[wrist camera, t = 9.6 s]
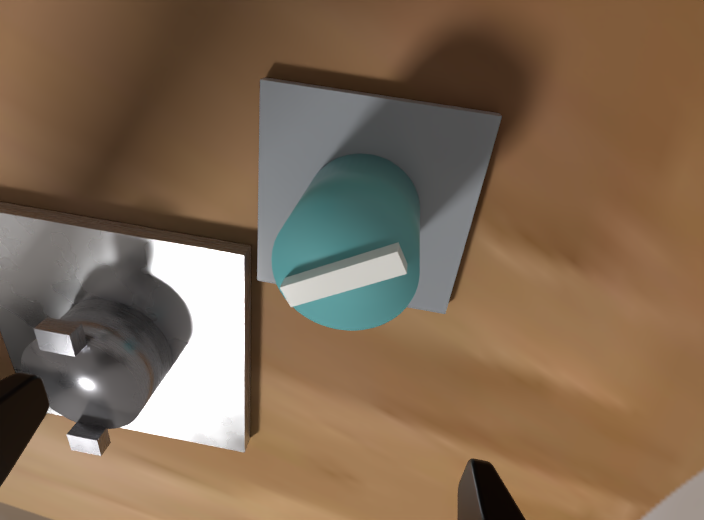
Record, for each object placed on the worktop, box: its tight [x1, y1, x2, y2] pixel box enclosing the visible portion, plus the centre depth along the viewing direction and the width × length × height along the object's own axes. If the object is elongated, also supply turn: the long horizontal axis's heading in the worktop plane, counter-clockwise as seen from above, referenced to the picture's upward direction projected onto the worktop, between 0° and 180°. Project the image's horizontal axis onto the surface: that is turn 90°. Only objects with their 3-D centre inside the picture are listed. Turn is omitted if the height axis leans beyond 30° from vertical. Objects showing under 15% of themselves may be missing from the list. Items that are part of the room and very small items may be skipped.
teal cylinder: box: [271, 154, 420, 330], centre depth 16 cm, size 5×5×6 cm
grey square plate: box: [0, 202, 251, 456], centre depth 23 cm, size 14×14×5 cm
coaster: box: [257, 78, 502, 314], centre depth 19 cm, size 9×9×1 cm
